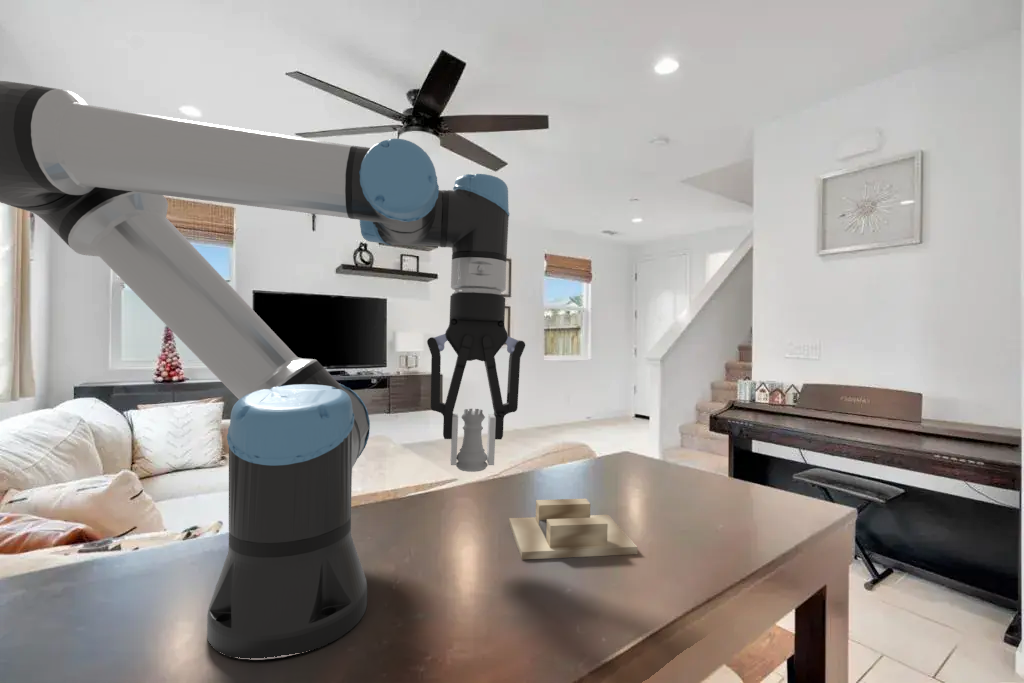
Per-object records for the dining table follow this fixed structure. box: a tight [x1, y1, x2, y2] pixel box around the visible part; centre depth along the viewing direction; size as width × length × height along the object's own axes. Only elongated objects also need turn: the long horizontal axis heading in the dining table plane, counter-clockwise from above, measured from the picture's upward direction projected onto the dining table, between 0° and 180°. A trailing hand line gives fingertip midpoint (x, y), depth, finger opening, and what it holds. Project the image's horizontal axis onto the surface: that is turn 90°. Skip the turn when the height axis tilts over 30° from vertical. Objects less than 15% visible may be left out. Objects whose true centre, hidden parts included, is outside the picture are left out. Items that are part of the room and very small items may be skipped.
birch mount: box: [508, 498, 638, 561], centre depth 73 cm, size 16×12×4 cm
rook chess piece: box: [455, 408, 489, 473], centre depth 68 cm, size 4×4×8 cm
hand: (471, 462), depth 68 cm, fingers closed on rook chess piece, 4 cm apart
